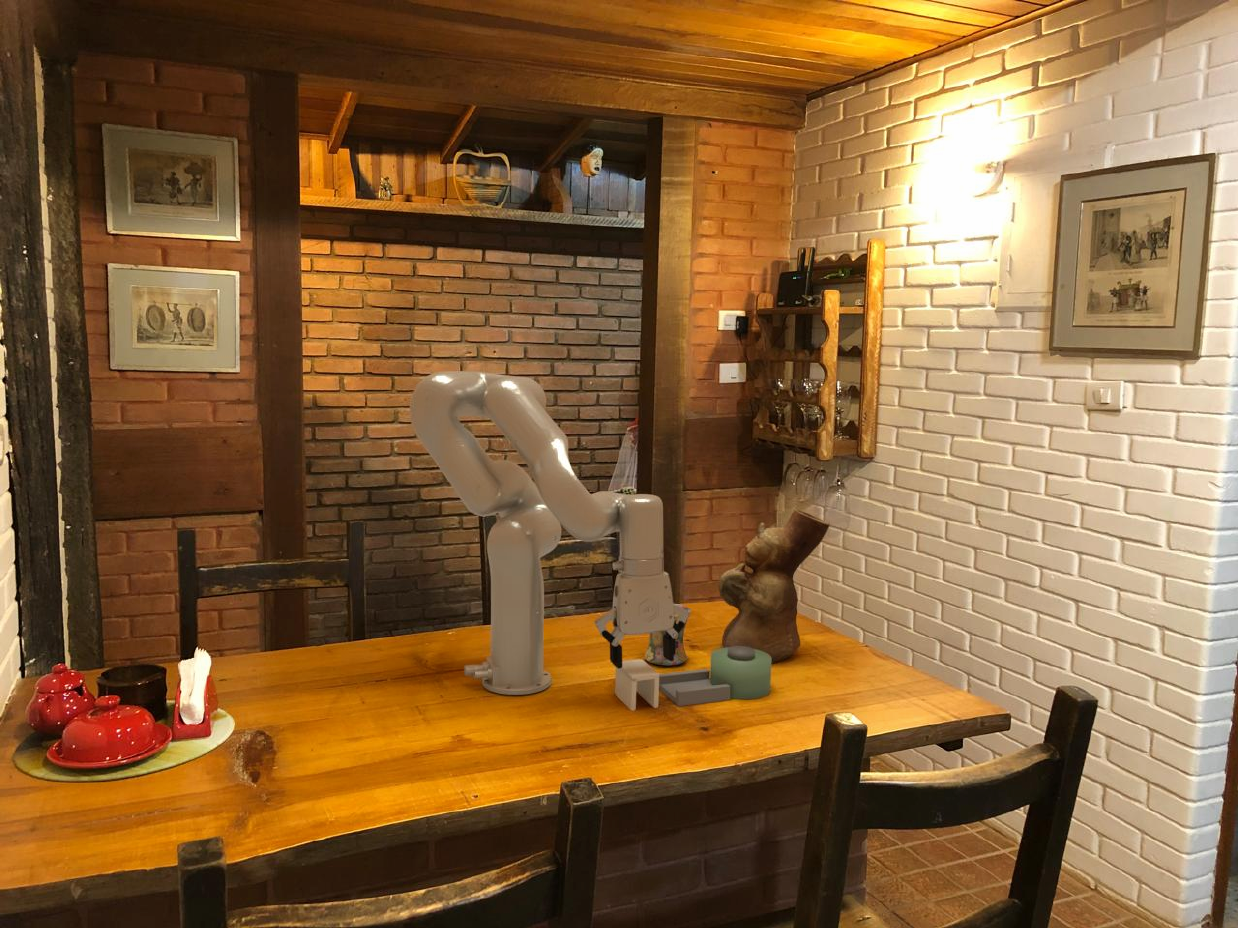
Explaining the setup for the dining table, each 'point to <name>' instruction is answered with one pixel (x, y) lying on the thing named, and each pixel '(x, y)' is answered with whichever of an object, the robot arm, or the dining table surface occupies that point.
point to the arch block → (645, 683)
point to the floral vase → (656, 646)
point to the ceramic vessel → (770, 586)
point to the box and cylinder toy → (721, 678)
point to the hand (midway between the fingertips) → (643, 662)
